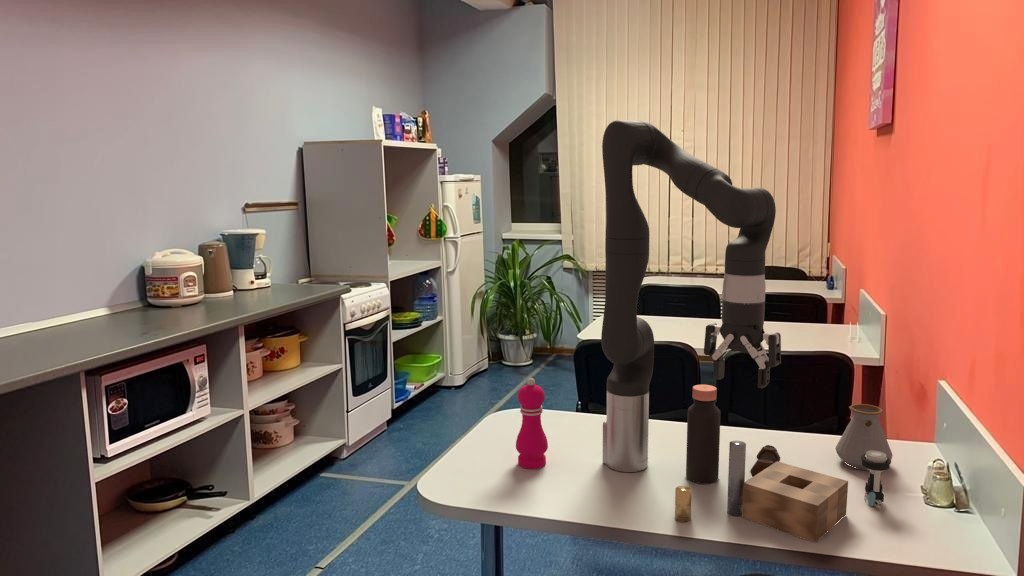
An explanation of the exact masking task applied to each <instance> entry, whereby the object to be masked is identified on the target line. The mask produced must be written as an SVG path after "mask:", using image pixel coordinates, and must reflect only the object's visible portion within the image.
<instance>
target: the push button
mask: <svg viewBox="0 0 1024 576" xmlns="http://www.w3.org/2000/svg"><path fill="white" fill-rule="evenodd" d="M861 460H862V465H863V466H864V467H866V468H867V469H868V470H870V471H869V474H868V475H869V476H868V477H867V482H865V486H864V491H865V492H864V498H863V500H864V502H867V501H868V503H869V505H870V506H871V507H873V508H874V507H876V508H877V509H880V510H881V509H883V507H882V505H883V503H884V501H885V499H884V498H885V494H884V493H883V489H884V486H883V484H882V481H881V473H882V472H885V471H887V470H888V469H890V465H891V464H892V459H889V458H888V457H886V454H885V453H883V452H880V451H874V450H871V451H867V452H866V454H863V455H862V456H861Z"/></svg>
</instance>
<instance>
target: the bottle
mask: <svg viewBox="0 0 1024 576" xmlns="http://www.w3.org/2000/svg"><path fill="white" fill-rule="evenodd" d="M717 394H718V389H717V387H715V386H714V385H710V384H696V385H693V386H692V400H693V403H692V404H691V405H690V406H689V407H688V408H687V416H686V417H687V418H686V419H687V420H686V422H687V424H686V425H687V426H686V428H687V429H686V455H685V456H686V461H685V462H686V463H685V477H686V478H687V479H688V480H689V481H690V482H694V483H696V484H704V485H705V484H707V485H709V484H714V483H716V482H718V480H719V474H720V473H719V471H720V470H719V469H720V468H719V467H720V464H719V463H720V442H721V410H720V409H719V408H718V406H716V404H715V403H716V402H717Z"/></svg>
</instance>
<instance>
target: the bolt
mask: <svg viewBox="0 0 1024 576" xmlns="http://www.w3.org/2000/svg"><path fill="white" fill-rule="evenodd" d="M756 459H757V460H756V462H755V463H754V464H753V466H752V467H751V468H750V469H749V470H750V471H749V473H750V476H752V477H754V476H755V475H757V474H758V473H760V472H761V471H763V470H764V469H766V468H768V467H769V466H771V465H772V464H774V463H775V462H777V461H778V462H781V456H780V454H779V452H778V450H777V448H776V447H775V446H774V445H769V444H767V445H765V446H762V447H761V448H760V450H759V451H758V453H757V455H756ZM752 477H751V478H752Z"/></svg>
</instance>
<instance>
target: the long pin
mask: <svg viewBox="0 0 1024 576" xmlns="http://www.w3.org/2000/svg"><path fill="white" fill-rule="evenodd" d="M728 446H729V448H728V450H729V451H728V452H729V453H728V473H727V474H728V475H727V477H728V479H727V480H728V481H727V482H728V483H727V504H726V513H727V514H728V515H730V516H732V517H742V512H743V487H744V482H746V481H745V480H746V478H745V475H746V458H747V457H746V456H747V455H746V453H747V443H746V442H744V441H741V440H730V441H729V444H728Z"/></svg>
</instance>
